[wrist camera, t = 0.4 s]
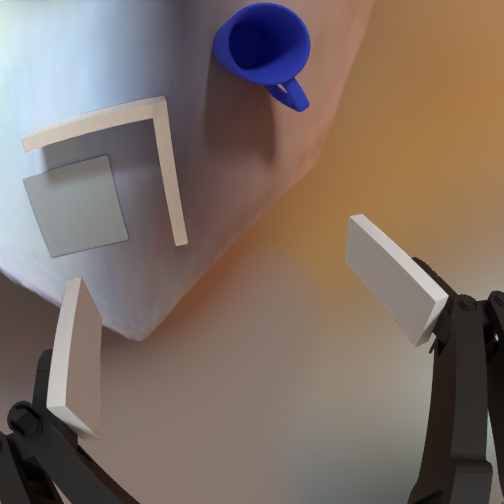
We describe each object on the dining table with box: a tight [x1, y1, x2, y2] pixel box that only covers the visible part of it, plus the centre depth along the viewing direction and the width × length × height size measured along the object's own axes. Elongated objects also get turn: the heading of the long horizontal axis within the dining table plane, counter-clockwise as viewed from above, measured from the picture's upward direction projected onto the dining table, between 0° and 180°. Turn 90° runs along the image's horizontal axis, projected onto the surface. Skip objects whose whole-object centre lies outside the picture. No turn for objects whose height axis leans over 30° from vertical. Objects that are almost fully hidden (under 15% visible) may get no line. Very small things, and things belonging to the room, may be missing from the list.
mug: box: [213, 3, 310, 112], centre depth 29 cm, size 8×12×10 cm
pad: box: [23, 155, 129, 257], centre depth 36 cm, size 12×12×1 cm
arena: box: [22, 96, 188, 246], centre depth 33 cm, size 17×16×6 cm
